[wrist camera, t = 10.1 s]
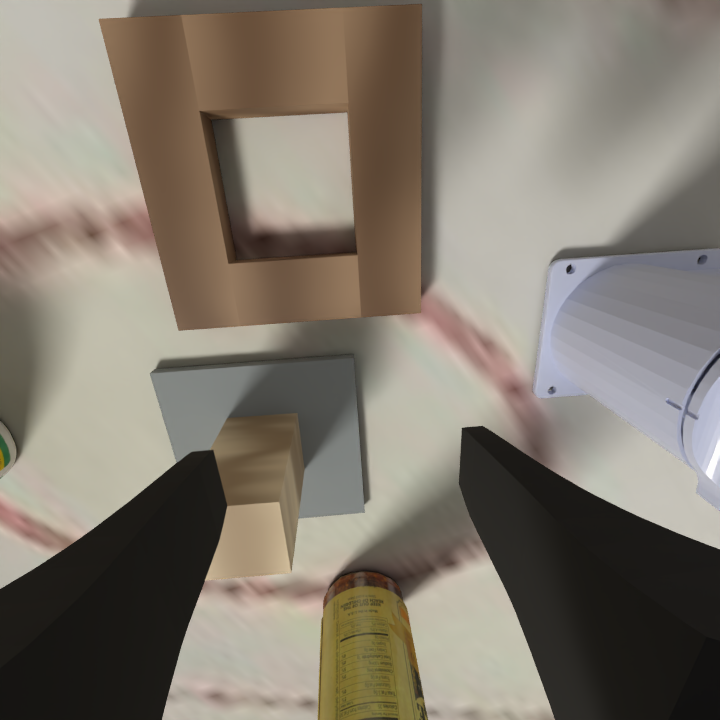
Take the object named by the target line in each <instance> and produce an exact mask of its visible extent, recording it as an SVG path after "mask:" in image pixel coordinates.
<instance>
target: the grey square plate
mask: <svg viewBox="0 0 720 720" xmlns="http://www.w3.org/2000/svg"><path fill="white" fill-rule="evenodd" d="M150 376H151V379H152V382H153V386H154V389H155V392H156V396H157V399H158V402H159V406H160V409H161V412H162V416H163V419H164V422H165V425H166V429H167V432H168V435H169V439H170V442H171V445H172V449H173V452H174V455H175V459H176V462H179V461H180V460H181V459H182V458H184V457H185V456H186V455H188V454H189V453H191V452H193V451H204V450H210V449H211V447H212V445H213V443H214V441H215V440H216V438H217V436H218V434H219V432H220V430H221V428H222V427H223V425H224V423H225V421H226V419H227V418H234V417H248V416H262V415H276V414H290V413H297V415H298V422H299V430H300V438H301V445H302V453H303V461H304V468H305V470H304V478H303V486H302V494H301V501H300V509H299V517H298V518H309V517H320V516H332V515H343V514H354V513H365V510H364V496H363V481H362V467H361V453H360V439H359V425H358V411H357V396H356V382H355V368H354V355H353V354H348V355H335V356H322V357H308V358H295V359H282V360H269V361H256V362H242V363H229V364H216V365H203V366H190V367H176V368H163V369H155V370H153V371H152V372H151V373H150Z"/></svg>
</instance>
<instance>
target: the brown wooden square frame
mask: <svg viewBox="0 0 720 720" xmlns="http://www.w3.org/2000/svg"><path fill="white" fill-rule="evenodd" d="M99 22H100V26H101V30H102V34H103V38H104V42H105V46H106V50H107V54H108V57H109V61H110V65H111V69H112V73H113V77H114V81H115V85H116V89H117V92H118V96H119V100H120V104H121V108H122V112H123V116H124V120H125V124H126V127H127V131H128V135H129V139H130V143H131V147H132V151H133V155H134V159H135V163H136V166H137V170H138V174H139V178H140V182H141V186H142V190H143V194H144V198H145V201H146V205H147V209H148V213H149V217H150V221H151V225H152V229H153V233H154V236H155V240H156V244H157V248H158V252H159V256H160V260H161V264H162V268H163V272H164V275H165V279H166V283H167V287H168V291H169V295H170V299H171V303H172V307H173V310H174V314H175V318H176V322H177V326H178V330H179V331H181V330H194V329H208V328H222V327H236V326H249V325H263V324H277V323H291V322H304V321H318V320H332V319H346V318H359V317H373V316H387V315H401V314H414V313H421V142H422V4H409V5H388V6H366V7H345V8H323V9H302V10H280V11H258V12H237V13H215V14H194V15H172V16H151V17H129V18H107V19H99ZM343 112H348V128H349V145H350V161H351V177H352V194H353V210H354V227H355V243H356V252H351V253H336V254H321V255H306V256H291V257H276V258H261V259H246V260H237V259H236V254H235V248H234V243H233V237H232V231H231V226H230V220H229V215H228V209H227V204H226V198H225V193H224V187H223V182H222V176H221V171H220V165H219V160H218V154H217V149H216V143H215V137H214V132H213V126H212V121H211V120H216V119H234V118H253V117H271V116H289V115H307V114H325V113H343Z"/></svg>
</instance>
